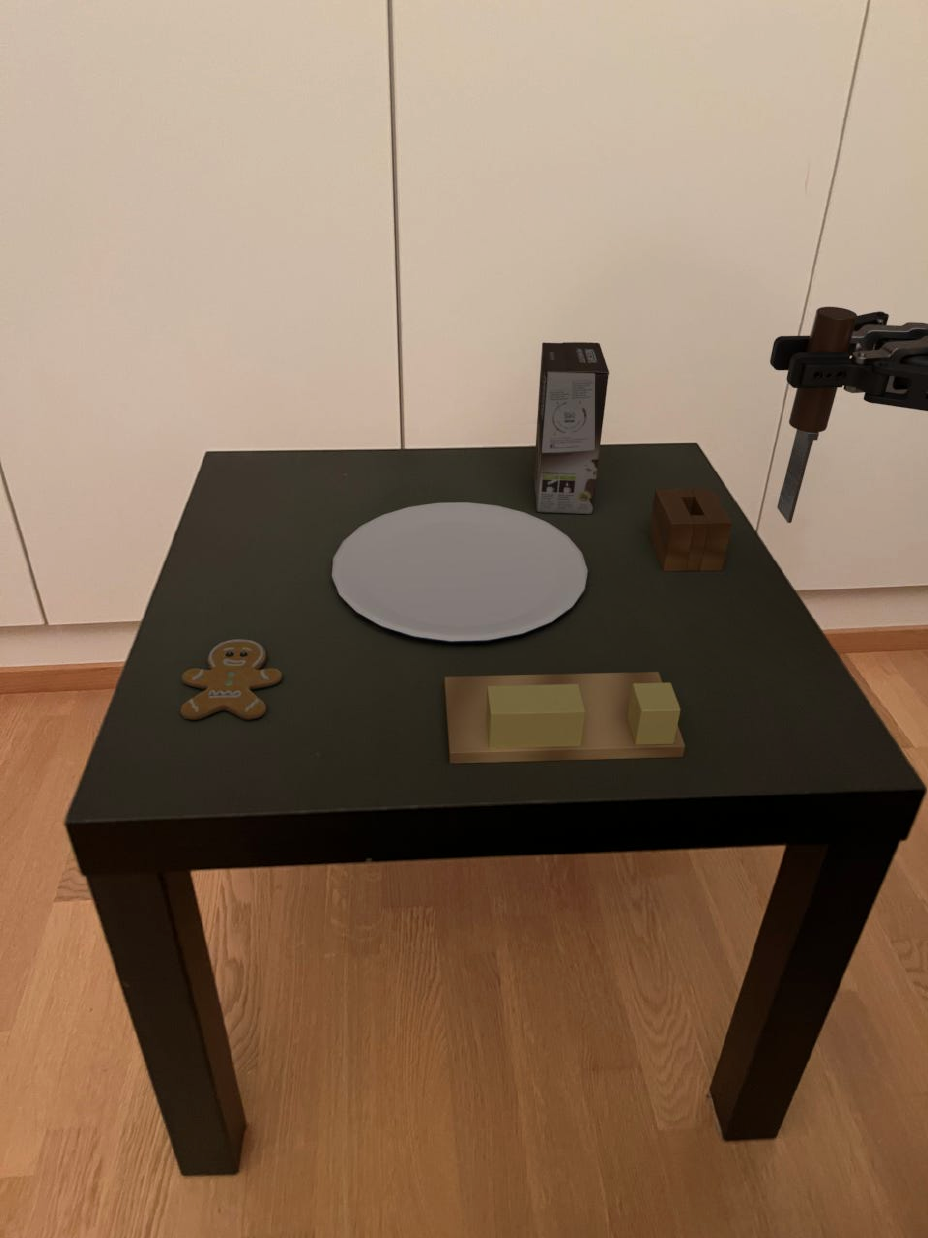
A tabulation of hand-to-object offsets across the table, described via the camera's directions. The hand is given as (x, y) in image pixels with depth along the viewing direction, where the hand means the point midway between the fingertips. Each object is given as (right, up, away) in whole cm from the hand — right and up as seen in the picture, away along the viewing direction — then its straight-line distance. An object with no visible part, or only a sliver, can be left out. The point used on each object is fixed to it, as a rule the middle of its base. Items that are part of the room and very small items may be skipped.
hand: (783, 361), depth 64 cm
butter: (-16, -26, +9) cm, 32 cm away
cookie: (-41, -23, +15) cm, 49 cm away
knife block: (+1, -11, +33) cm, 35 cm away
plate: (-22, -13, +29) cm, 39 cm away
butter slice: (-7, -26, +9) cm, 29 cm away
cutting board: (-14, -26, +12) cm, 32 cm away
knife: (+2, -10, +7) cm, 12 cm away
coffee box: (-11, -3, +43) cm, 44 cm away
